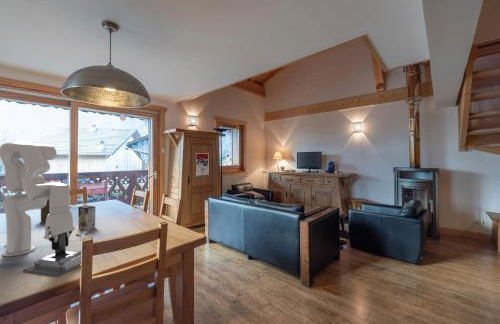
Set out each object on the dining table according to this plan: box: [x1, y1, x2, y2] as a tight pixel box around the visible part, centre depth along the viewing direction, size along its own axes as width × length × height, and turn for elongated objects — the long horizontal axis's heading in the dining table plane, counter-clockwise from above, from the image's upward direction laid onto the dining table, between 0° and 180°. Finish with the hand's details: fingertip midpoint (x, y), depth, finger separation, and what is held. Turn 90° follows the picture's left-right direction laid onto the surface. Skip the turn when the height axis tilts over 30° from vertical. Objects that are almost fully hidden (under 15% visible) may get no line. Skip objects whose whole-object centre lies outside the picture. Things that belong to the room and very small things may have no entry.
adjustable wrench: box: [75, 230, 89, 240], centre depth 147 cm, size 25×6×2 cm, turn 35°
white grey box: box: [38, 250, 82, 271], centre depth 109 cm, size 15×11×5 cm
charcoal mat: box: [22, 264, 81, 278], centre depth 110 cm, size 20×16×1 cm
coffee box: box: [77, 205, 96, 231], centre depth 166 cm, size 9×6×16 cm
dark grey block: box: [54, 232, 67, 256], centre depth 109 cm, size 4×4×10 cm
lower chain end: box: [33, 257, 63, 270], centre depth 110 cm, size 15×11×3 cm
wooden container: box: [40, 198, 50, 224], centre depth 185 cm, size 15×15×22 cm
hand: (60, 247), depth 109 cm, fingers closed on dark grey block, 4 cm apart
